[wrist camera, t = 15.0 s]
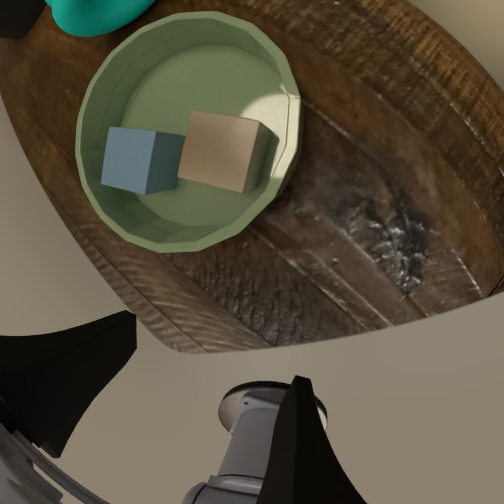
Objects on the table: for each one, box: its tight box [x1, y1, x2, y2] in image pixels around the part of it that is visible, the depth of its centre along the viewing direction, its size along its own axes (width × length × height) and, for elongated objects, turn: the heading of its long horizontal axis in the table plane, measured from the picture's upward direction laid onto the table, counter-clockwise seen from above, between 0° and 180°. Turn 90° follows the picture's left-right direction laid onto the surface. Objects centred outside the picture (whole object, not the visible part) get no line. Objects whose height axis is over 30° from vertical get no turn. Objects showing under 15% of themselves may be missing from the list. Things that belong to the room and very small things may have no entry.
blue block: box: [101, 126, 185, 195], centre depth 17 cm, size 4×4×4 cm
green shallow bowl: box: [75, 11, 304, 253], centre depth 16 cm, size 15×15×5 cm
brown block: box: [177, 110, 272, 194], centre depth 15 cm, size 4×4×4 cm
